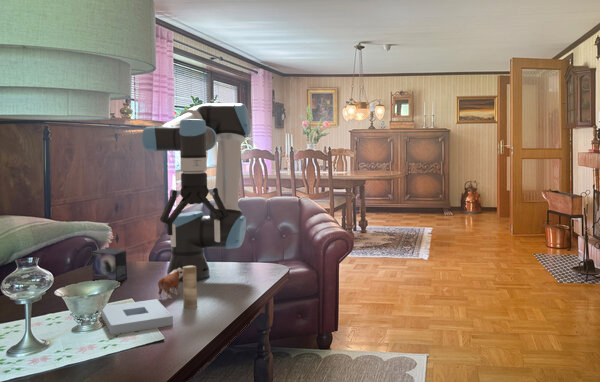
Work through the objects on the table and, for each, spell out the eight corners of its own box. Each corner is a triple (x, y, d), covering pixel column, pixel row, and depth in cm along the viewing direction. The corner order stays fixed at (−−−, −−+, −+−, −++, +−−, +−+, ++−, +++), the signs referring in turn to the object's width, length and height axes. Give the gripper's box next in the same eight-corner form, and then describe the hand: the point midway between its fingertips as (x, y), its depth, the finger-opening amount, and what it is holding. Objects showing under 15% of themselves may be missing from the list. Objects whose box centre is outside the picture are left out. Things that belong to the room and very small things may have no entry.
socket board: (101, 315, 163) (100, 306, 163) (157, 307, 170) (156, 299, 170) (111, 334, 147) (111, 325, 147) (173, 325, 154) (172, 316, 154)
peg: (182, 305, 172) (180, 266, 170) (194, 303, 173) (193, 265, 172) (185, 309, 168) (184, 269, 167) (198, 307, 170) (197, 267, 169)
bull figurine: (188, 290, 188) (187, 266, 187) (166, 302, 175) (165, 276, 174) (176, 289, 189) (176, 265, 188) (153, 301, 177) (152, 275, 176)
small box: (91, 280, 202) (90, 251, 201) (104, 276, 208) (103, 247, 207) (115, 283, 198) (114, 253, 197) (128, 278, 204) (126, 249, 203)
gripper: (154, 174, 157) (157, 250, 160) (238, 171, 169) (239, 241, 172) (147, 173, 164) (150, 245, 166) (228, 169, 176) (230, 237, 178)
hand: (195, 243), depth 169 cm, fingers open, 13 cm apart
